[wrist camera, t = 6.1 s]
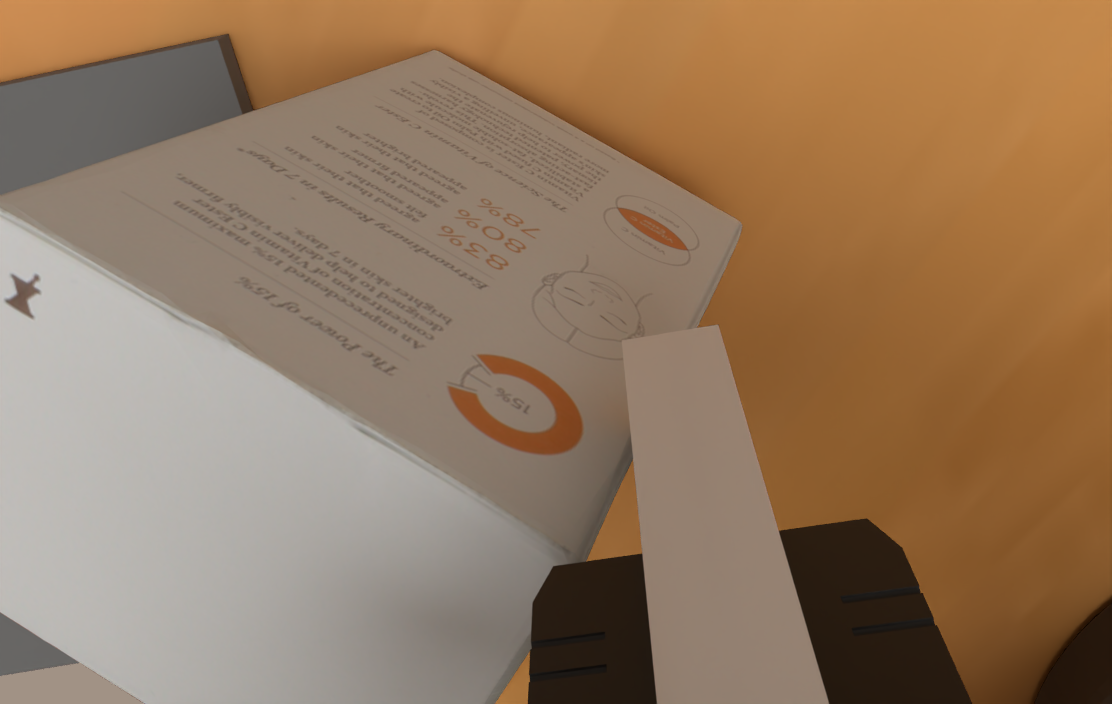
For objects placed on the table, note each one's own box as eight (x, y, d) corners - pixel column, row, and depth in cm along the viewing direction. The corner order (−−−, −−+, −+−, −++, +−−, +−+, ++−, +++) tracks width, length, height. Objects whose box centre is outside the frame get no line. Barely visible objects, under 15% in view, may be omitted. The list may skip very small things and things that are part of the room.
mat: (410, 591, 30) (407, 608, 30) (-8, 660, 31) (-21, 679, 31) (227, 33, 23) (217, 39, 23) (-299, 146, 24) (-325, 155, 24)
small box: (344, 273, 26) (-98, 565, 15) (434, 41, 23) (-35, 183, 12) (623, 438, 25) (388, 878, 14) (754, 222, 22) (589, 560, 11)
